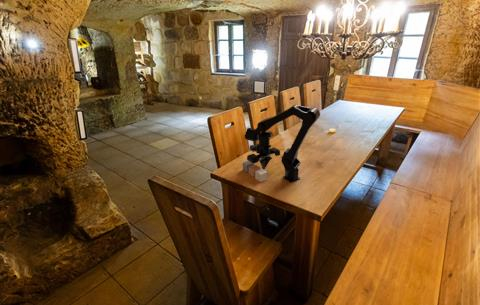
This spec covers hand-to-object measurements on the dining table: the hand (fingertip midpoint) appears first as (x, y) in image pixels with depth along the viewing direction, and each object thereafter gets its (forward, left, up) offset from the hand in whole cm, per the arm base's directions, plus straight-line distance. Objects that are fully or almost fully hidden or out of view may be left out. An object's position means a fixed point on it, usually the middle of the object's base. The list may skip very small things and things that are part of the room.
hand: (263, 169), depth 143 cm
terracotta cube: (0, +6, -1) cm, 6 cm away
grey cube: (+6, +6, -1) cm, 9 cm away
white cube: (-6, +6, -1) cm, 9 cm away
